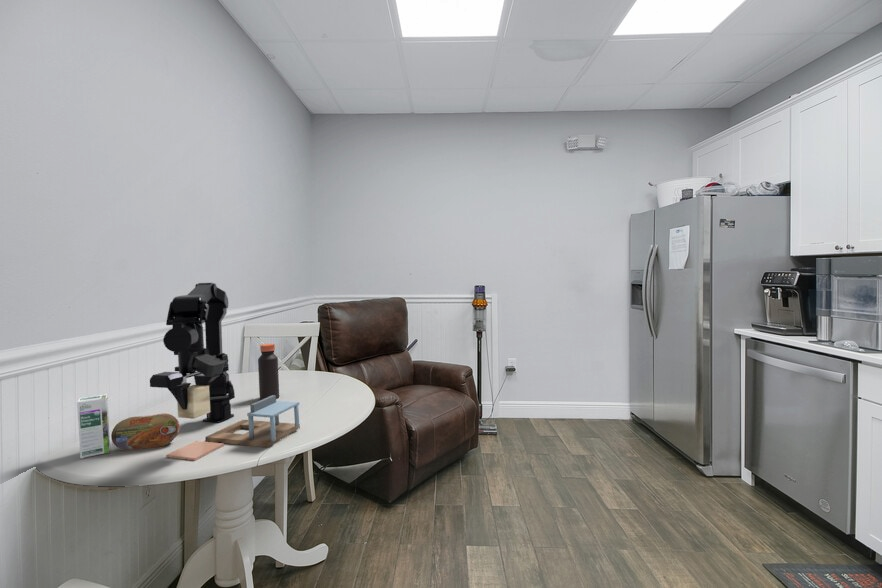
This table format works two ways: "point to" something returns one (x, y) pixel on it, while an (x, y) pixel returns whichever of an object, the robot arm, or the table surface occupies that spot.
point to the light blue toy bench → (271, 413)
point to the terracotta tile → (195, 450)
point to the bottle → (268, 372)
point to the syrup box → (93, 425)
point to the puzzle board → (260, 433)
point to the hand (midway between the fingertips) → (193, 406)
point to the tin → (145, 432)
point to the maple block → (196, 402)
